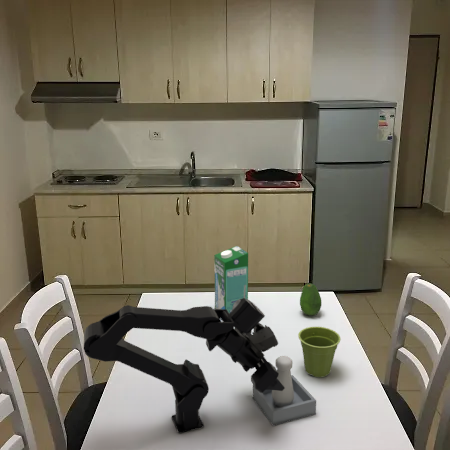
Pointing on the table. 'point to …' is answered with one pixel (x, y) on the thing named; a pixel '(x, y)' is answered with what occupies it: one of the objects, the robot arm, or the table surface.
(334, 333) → the plant pot
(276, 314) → the table surface
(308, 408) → the box
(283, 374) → the salt shaker
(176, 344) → the table surface
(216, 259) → the milk carton
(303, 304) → the avocado
